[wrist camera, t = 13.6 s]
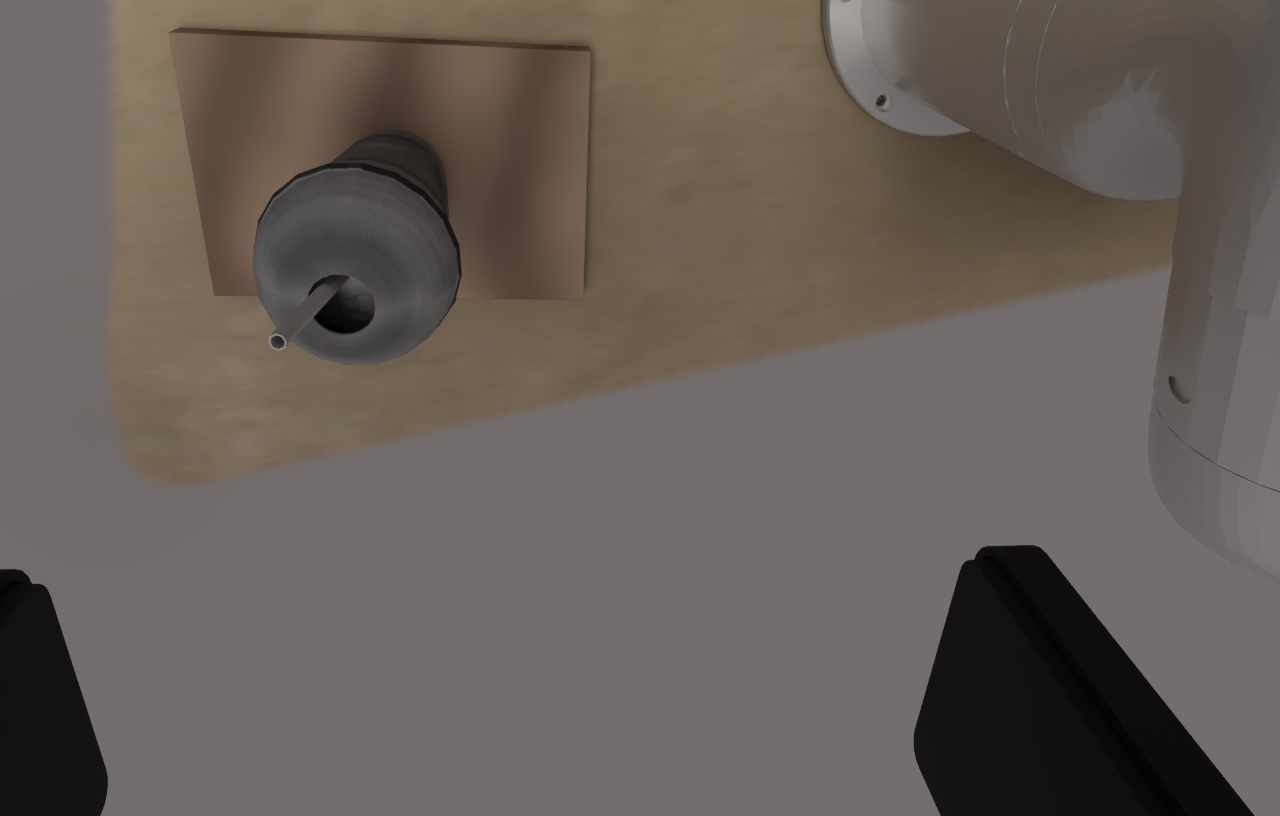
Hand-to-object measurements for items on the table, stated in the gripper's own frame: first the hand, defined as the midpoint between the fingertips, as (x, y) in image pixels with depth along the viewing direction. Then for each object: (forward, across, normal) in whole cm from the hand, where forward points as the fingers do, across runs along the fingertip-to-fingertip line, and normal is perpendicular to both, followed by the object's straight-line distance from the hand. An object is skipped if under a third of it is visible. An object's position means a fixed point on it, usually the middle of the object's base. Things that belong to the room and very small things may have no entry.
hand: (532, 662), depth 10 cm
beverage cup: (+37, +6, +5) cm, 38 cm away
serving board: (+38, +6, +5) cm, 39 cm away
